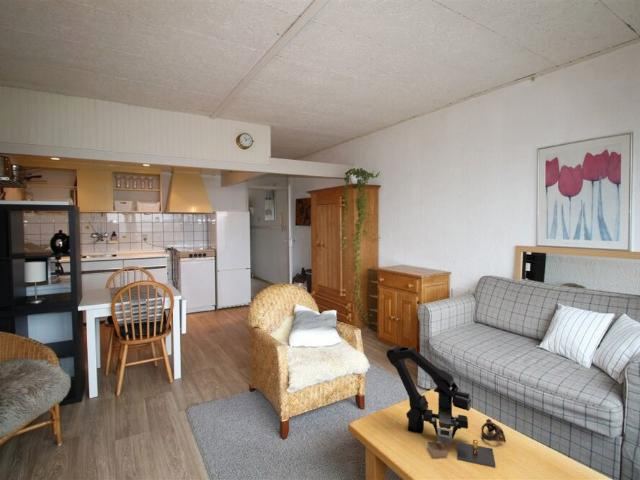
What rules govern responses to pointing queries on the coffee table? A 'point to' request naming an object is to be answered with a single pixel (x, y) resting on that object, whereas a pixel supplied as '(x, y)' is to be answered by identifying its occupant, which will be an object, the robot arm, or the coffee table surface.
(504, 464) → the coffee table surface
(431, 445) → the brown hollow square block
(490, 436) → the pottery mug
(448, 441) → the grey square frame
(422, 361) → the robot arm
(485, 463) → the keeper
